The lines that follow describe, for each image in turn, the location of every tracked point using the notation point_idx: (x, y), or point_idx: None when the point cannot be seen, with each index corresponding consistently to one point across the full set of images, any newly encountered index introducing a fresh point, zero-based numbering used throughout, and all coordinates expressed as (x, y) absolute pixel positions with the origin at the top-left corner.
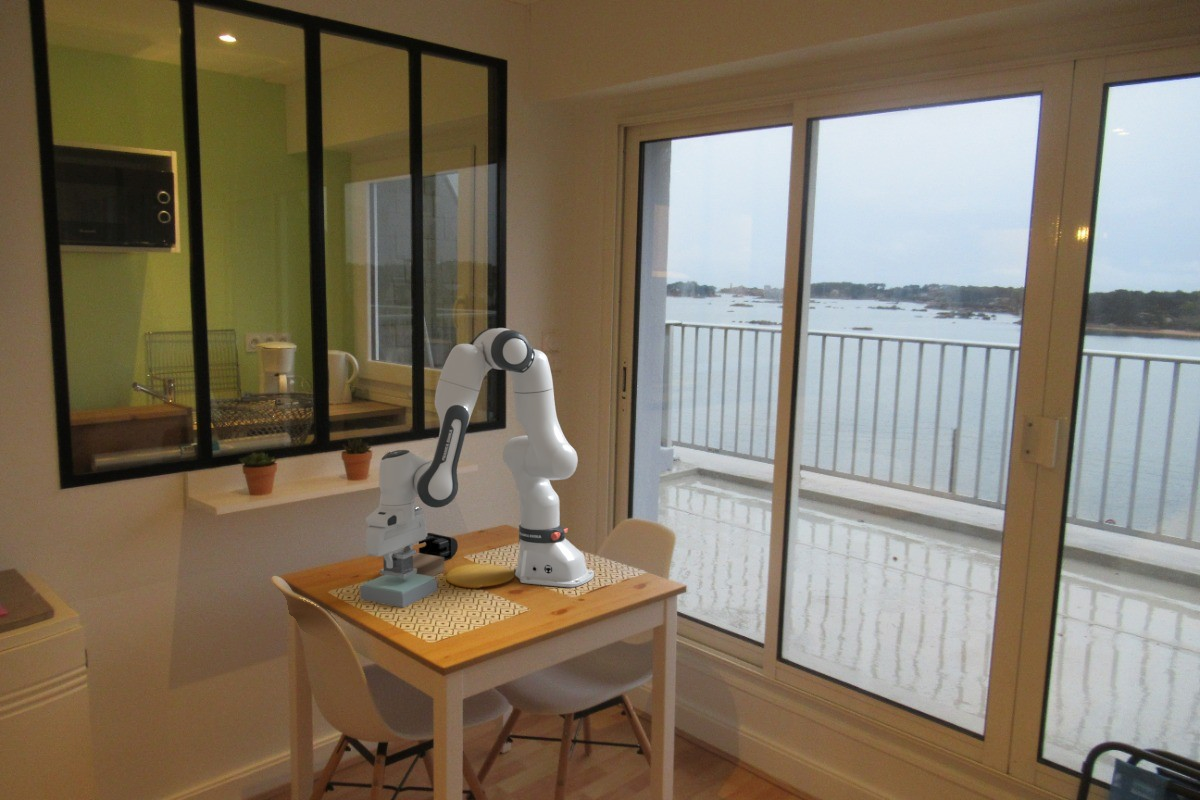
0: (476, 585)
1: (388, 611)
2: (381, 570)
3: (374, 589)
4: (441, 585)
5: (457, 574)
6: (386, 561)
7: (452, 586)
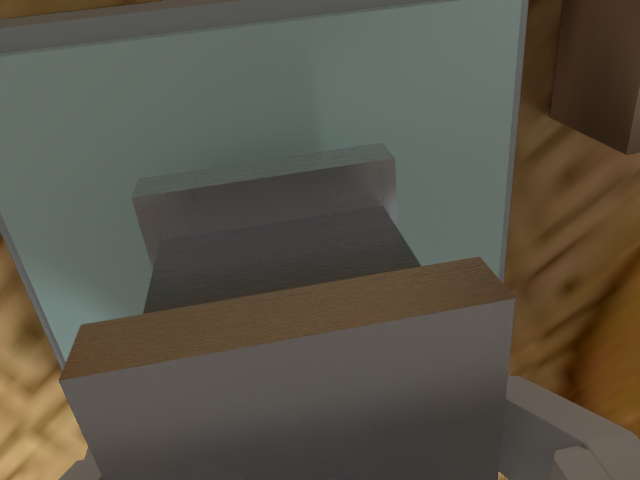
0: (619, 406)
1: (14, 384)
2: (138, 222)
3: (2, 235)
4: (559, 279)
5: None
6: (86, 459)
7: (565, 336)
